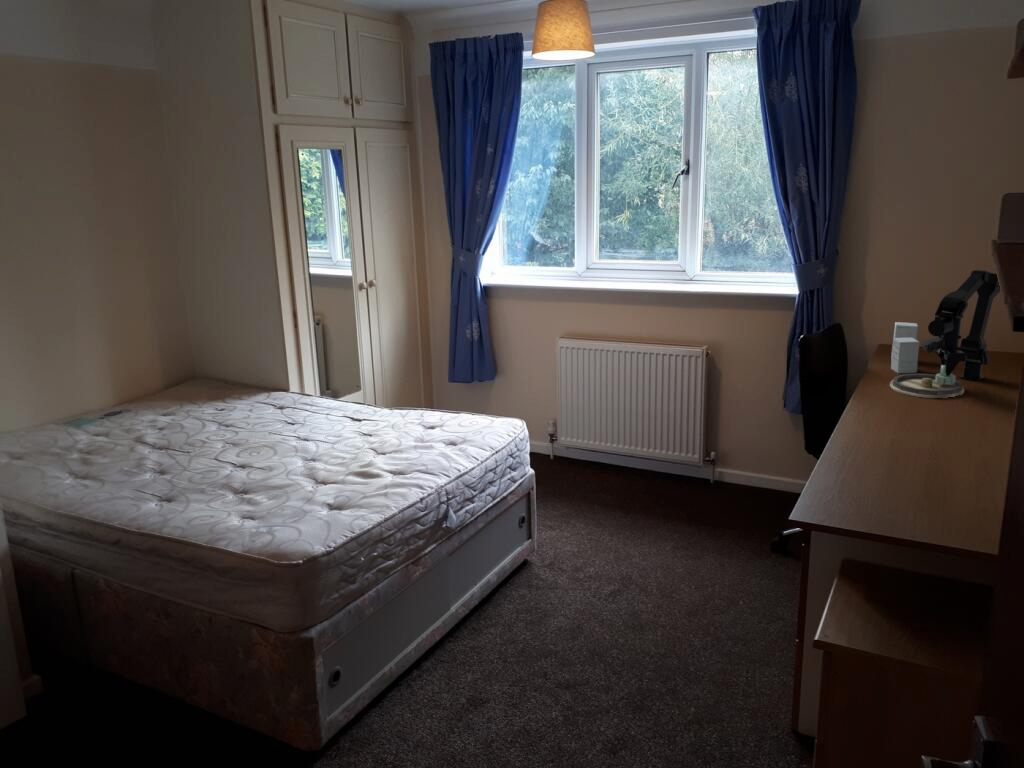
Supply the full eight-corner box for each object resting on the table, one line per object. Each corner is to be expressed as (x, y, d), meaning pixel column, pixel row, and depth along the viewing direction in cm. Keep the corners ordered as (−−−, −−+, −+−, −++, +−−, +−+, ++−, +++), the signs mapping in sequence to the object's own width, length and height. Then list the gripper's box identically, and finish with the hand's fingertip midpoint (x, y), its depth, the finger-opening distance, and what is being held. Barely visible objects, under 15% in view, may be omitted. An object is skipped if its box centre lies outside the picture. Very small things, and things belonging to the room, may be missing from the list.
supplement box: (909, 368, 314) (912, 337, 310) (917, 373, 306) (920, 341, 303) (890, 368, 314) (892, 337, 311) (897, 373, 307) (899, 341, 304)
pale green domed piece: (941, 378, 290) (942, 363, 288) (957, 382, 285) (959, 366, 283) (932, 382, 286) (933, 366, 285) (948, 385, 282) (950, 369, 280)
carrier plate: (912, 375, 303) (913, 366, 302) (977, 389, 284) (978, 379, 283) (876, 388, 291) (876, 379, 290) (941, 402, 271) (942, 393, 270)
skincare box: (891, 362, 322) (895, 325, 318) (890, 358, 328) (894, 321, 324) (914, 363, 319) (918, 325, 315) (913, 359, 325) (917, 322, 321)
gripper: (918, 326, 291) (914, 367, 295) (934, 337, 273) (929, 381, 278) (951, 325, 289) (946, 367, 293) (969, 337, 271) (964, 381, 275)
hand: (945, 374), depth 285 cm, fingers closed on pale green domed piece, 3 cm apart
